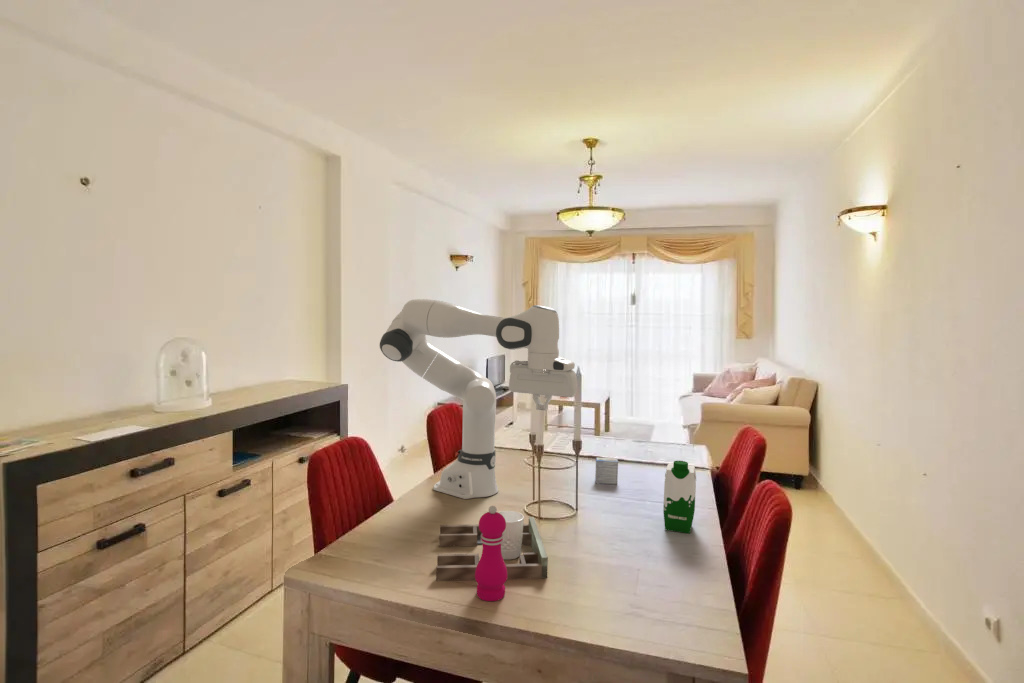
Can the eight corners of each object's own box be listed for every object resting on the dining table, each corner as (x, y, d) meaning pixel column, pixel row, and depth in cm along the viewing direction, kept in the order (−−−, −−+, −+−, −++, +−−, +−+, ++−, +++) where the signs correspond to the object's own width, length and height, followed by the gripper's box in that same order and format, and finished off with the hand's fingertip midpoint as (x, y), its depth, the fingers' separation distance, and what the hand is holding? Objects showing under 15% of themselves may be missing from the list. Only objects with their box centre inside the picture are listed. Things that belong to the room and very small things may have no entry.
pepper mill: (499, 605, 118) (501, 514, 117) (468, 598, 121) (470, 508, 120) (511, 589, 125) (514, 503, 124) (482, 583, 128) (484, 498, 126)
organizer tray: (436, 580, 128) (436, 559, 128) (440, 535, 153) (440, 517, 153) (547, 578, 131) (547, 557, 131) (533, 534, 156) (533, 516, 156)
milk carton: (661, 530, 160) (664, 462, 159) (664, 519, 169) (666, 455, 168) (693, 535, 158) (696, 466, 156) (694, 524, 166) (697, 458, 165)
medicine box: (616, 481, 206) (617, 458, 205) (617, 484, 201) (618, 461, 201) (595, 479, 206) (595, 457, 206) (595, 483, 202) (596, 460, 201)
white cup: (486, 552, 143) (487, 515, 143) (509, 544, 149) (510, 508, 148) (505, 563, 138) (506, 524, 137) (529, 555, 143) (530, 517, 142)
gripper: (505, 360, 161) (504, 408, 161) (572, 365, 152) (571, 415, 153) (514, 359, 166) (513, 404, 167) (580, 363, 158) (578, 411, 159)
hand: (541, 409), depth 160 cm, fingers closed
